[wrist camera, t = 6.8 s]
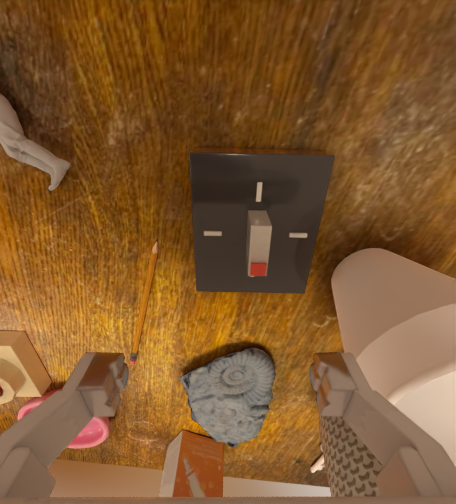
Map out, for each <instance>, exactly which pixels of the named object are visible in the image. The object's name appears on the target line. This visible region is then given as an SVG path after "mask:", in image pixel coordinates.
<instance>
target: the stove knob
mask: <svg viewBox="0 0 456 504" xmlns="http://www.w3.org/2000/svg"><path fill="white" fill-rule="evenodd" d="M271 233H272V225H271V222H270V219H269V217H268V214H267V211H258V210H249V211H248V221H247V239H246V263H247V273H248V276H267V269H268V260H269V251H270V242H271Z"/></svg>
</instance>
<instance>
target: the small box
mask: <svg viewBox="0 0 456 504" xmlns="http://www.w3.org/2000/svg"><path fill="white" fill-rule="evenodd" d="M223 461H224V442H216V441H215V440H214V439H210V438H207V437H203V436H200V435H197V434H194V433H191V432H188V431H185V430H182V431H181V432H180V433H179V434H178V436H177V437H176V438H175V439H174V440H173V441H172V442H171V443H170V444H169V446H168V450H167V455H166V460H165V465H164V470H163V476H162V481H161V486H160V492H159V497H223Z"/></svg>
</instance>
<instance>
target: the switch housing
mask: <svg viewBox="0 0 456 504" xmlns="http://www.w3.org/2000/svg"><path fill="white" fill-rule="evenodd" d="M334 157H335V156H334V155H332V154H329V153H327V152H324V151H322V150H300V149H256V148H212V147H194V148H193V149H192V150H191V151H190V152H189V166H190V184H191V202H192V220H193V238H194V256H195V274H196V290H197V291H209V292H257V293H305V288H306V284H307V279H308V275H309V270H310V266H311V261H312V257H313V252H314V248H315V243H316V239H317V234H318V229H319V225H320V220H321V216H322V211H323V207H324V202H325V198H326V193H327V189H328V184H329V180H330V175H331V171H332V166H333V162H334ZM249 210H258V211H267V214H268V217H269V219H270V222H271V225H272V233H271V242H270V251H269V260H268V269H267V276H248V273H247V263H246V239H247V221H248V211H249Z"/></svg>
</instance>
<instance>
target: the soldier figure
mask: <svg viewBox="0 0 456 504" xmlns="http://www.w3.org/2000/svg"><path fill="white" fill-rule="evenodd" d="M0 143H1V145H2V147H3V148H4V150H5V152H6V153H7V155H8V156H10V157H12V158H15V159H17V160H18V161H19V162H21V163H26V164H29V165H31V166H34V167H36V168H39V169H41V170H43V171H45V172H47V173H49V174H50V175H51V180H52V181H51V185H50V186H49V187H48V188H49V190H50V191H52V190H54V189H56V188H57V187H58V185H59V183H60V181H61V180H62V179H63V177H64V175H65V174H66V172H67V170H68V169H69V167H70V165H71V163H69V162H67V161H66V160H63V159H59V158H58V157H56V156H55V155H53V154H52V153H51V152H50V151H48V150H47V149H45V148H44V147H42V146H40V145H39V144H37V143H35V142H34V141H32V140H28V139H27V138H26V137H25V136H24V132H23V129H22V126H21V124H20V122H19V120H18V116H17V114H16V112H15V111H14V110H13V108H12V106H11V104H10V103H9V101H8V100H7V99H6V98H5V97H4V96H3V95H2V94H1V93H0Z"/></svg>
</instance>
